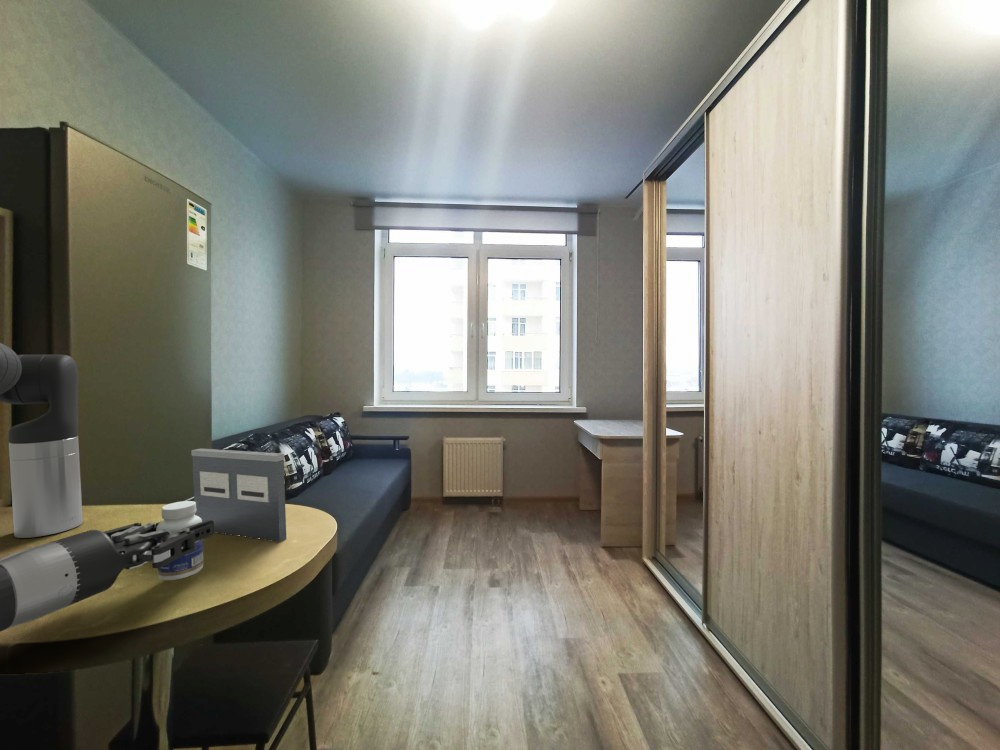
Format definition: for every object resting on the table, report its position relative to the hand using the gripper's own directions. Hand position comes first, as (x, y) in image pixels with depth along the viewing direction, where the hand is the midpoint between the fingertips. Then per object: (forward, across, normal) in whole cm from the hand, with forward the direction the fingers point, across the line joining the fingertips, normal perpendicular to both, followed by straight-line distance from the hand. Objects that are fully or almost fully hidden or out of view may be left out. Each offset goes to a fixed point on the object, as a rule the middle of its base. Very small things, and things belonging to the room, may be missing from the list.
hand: (196, 524), depth 66 cm
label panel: (+13, +7, +7) cm, 16 cm away
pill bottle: (-3, 0, +6) cm, 7 cm away
